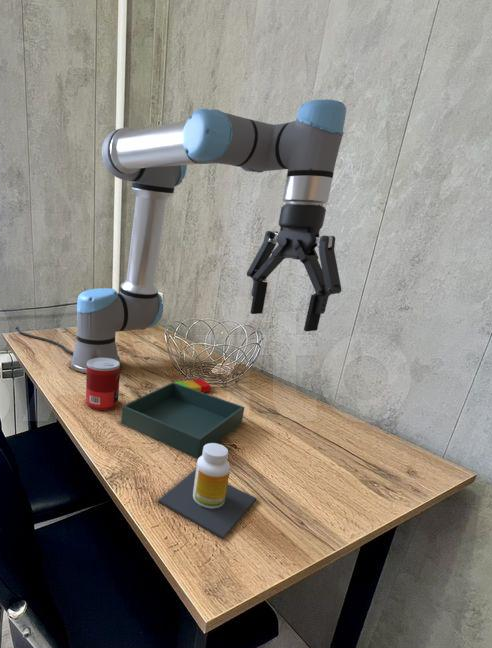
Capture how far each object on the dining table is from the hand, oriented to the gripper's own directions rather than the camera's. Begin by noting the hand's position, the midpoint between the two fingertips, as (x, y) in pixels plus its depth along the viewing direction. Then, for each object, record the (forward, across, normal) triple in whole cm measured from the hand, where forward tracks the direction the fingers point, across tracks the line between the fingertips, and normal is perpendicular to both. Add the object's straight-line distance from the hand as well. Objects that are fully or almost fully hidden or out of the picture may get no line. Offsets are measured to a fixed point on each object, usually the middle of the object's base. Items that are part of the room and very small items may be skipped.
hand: (281, 321), depth 78 cm
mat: (+27, -12, +23) cm, 37 cm away
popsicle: (+27, +28, 0) cm, 39 cm away
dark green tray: (+27, +13, +12) cm, 32 cm away
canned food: (+27, +29, +25) cm, 47 cm away
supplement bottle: (+26, -12, +23) cm, 37 cm away
